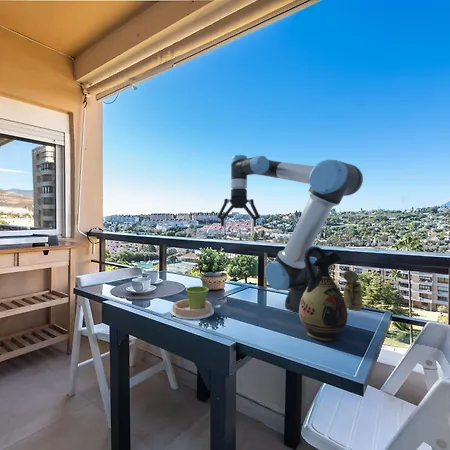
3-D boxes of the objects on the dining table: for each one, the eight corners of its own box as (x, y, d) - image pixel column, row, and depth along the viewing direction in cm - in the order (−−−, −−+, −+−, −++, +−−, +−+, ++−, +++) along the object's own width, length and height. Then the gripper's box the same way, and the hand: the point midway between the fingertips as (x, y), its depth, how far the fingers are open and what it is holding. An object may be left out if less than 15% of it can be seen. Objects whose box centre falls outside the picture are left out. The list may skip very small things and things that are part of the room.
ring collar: (222, 310, 123) (222, 302, 123) (196, 322, 108) (196, 314, 107) (189, 302, 132) (189, 295, 132) (160, 313, 117) (160, 305, 117)
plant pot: (205, 314, 115) (205, 292, 115) (182, 312, 117) (182, 291, 117) (210, 307, 125) (210, 286, 124) (189, 305, 126) (189, 285, 126)
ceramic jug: (335, 326, 106) (337, 245, 105) (355, 345, 91) (358, 250, 90) (288, 326, 106) (290, 244, 105) (301, 345, 90) (303, 249, 89)
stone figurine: (337, 310, 125) (338, 268, 125) (343, 302, 136) (344, 264, 136) (359, 314, 120) (361, 271, 120) (364, 306, 132) (365, 266, 131)
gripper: (262, 190, 144) (261, 233, 144) (212, 188, 140) (211, 232, 141) (266, 188, 136) (266, 233, 137) (213, 187, 133) (213, 233, 133)
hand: (238, 233), depth 139 cm, fingers open, 13 cm apart
